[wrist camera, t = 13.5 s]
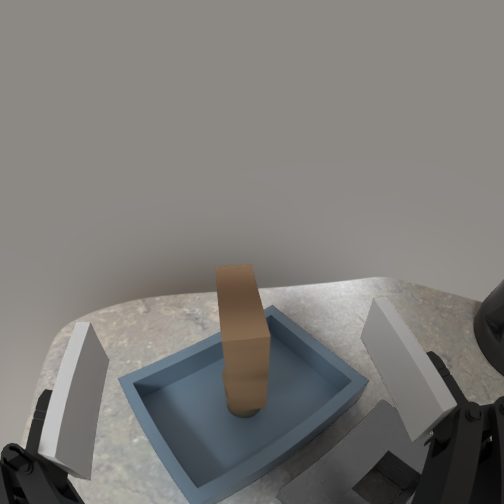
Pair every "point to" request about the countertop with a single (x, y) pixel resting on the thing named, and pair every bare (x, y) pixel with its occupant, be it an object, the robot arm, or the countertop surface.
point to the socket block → (362, 462)
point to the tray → (229, 426)
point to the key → (243, 340)
